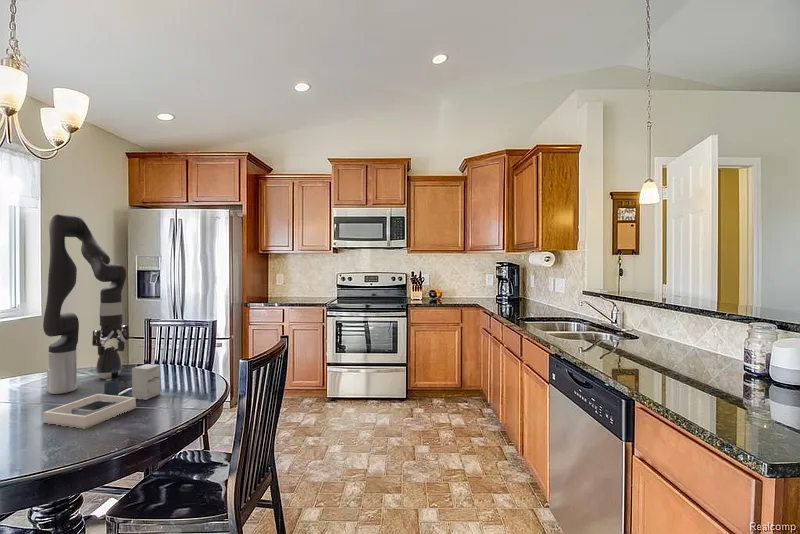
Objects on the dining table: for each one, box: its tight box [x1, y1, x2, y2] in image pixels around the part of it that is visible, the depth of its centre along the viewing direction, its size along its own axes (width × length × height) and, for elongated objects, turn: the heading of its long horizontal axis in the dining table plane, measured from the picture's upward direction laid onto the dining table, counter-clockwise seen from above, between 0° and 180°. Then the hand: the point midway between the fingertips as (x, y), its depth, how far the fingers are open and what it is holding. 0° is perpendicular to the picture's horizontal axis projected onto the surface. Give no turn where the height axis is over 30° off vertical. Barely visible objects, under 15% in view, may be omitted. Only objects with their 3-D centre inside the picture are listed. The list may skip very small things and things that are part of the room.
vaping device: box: [103, 368, 120, 396], centre depth 168 cm, size 3×5×12 cm, turn 161°
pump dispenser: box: [95, 345, 123, 380], centre depth 198 cm, size 10×10×15 cm
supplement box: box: [131, 363, 161, 401], centre depth 171 cm, size 7×7×13 cm
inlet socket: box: [72, 400, 120, 416], centre depth 150 cm, size 10×10×3 cm
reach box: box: [42, 393, 137, 430], centre depth 150 cm, size 18×20×4 cm
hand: (111, 353), depth 168 cm, fingers open, 8 cm apart
